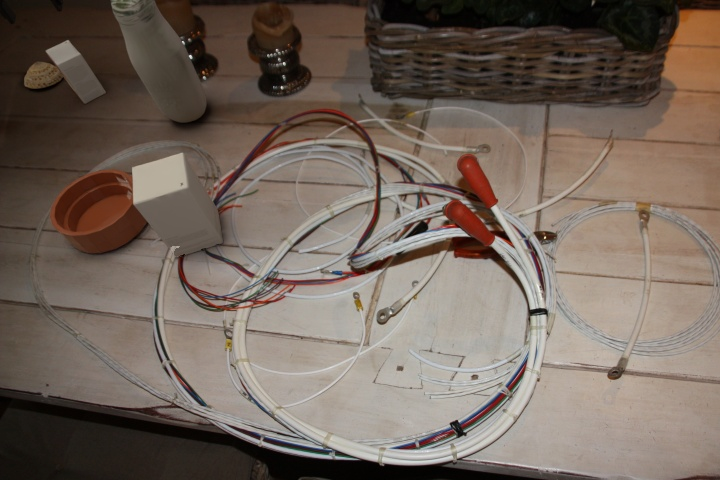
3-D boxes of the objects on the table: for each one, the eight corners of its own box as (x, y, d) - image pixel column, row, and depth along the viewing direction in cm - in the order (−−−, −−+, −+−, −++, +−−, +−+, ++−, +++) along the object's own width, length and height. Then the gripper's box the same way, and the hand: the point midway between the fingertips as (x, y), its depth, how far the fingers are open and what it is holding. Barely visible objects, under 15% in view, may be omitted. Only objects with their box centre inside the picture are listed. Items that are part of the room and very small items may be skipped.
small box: (72, 89, 128) (44, 50, 120) (94, 78, 130) (67, 38, 121) (84, 105, 125) (56, 65, 116) (107, 93, 126) (80, 53, 118)
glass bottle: (162, 132, 116) (87, 8, 93) (177, 101, 122) (109, -24, 99) (205, 131, 115) (140, 5, 92) (218, 99, 121) (160, -27, 98)
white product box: (218, 208, 102) (184, 150, 90) (224, 243, 97) (189, 187, 85) (171, 222, 101) (130, 165, 89) (174, 259, 96) (131, 204, 84)
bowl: (67, 265, 98) (46, 245, 93) (72, 203, 107) (53, 182, 102) (152, 240, 99) (136, 220, 94) (151, 181, 108) (135, 160, 103)
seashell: (14, 76, 130) (35, 50, 130) (37, 89, 135) (57, 64, 135) (26, 90, 126) (47, 63, 126) (49, 103, 131) (69, 78, 131)
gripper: (-80, -53, 95) (-8, 35, 109) (19, -78, 96) (78, 12, 110) (-71, -72, 99) (-3, 15, 113) (24, -96, 100) (80, -6, 114)
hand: (37, 14), depth 112 cm, fingers open, 9 cm apart
